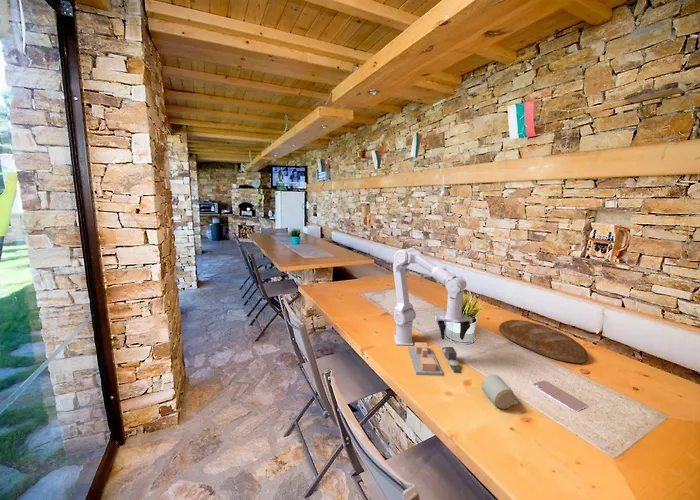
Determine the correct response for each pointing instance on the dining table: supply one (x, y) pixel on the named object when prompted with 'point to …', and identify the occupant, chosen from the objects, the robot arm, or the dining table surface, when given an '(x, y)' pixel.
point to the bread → (544, 340)
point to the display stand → (424, 360)
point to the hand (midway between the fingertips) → (452, 338)
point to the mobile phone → (559, 395)
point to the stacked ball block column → (451, 358)
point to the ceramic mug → (498, 392)
